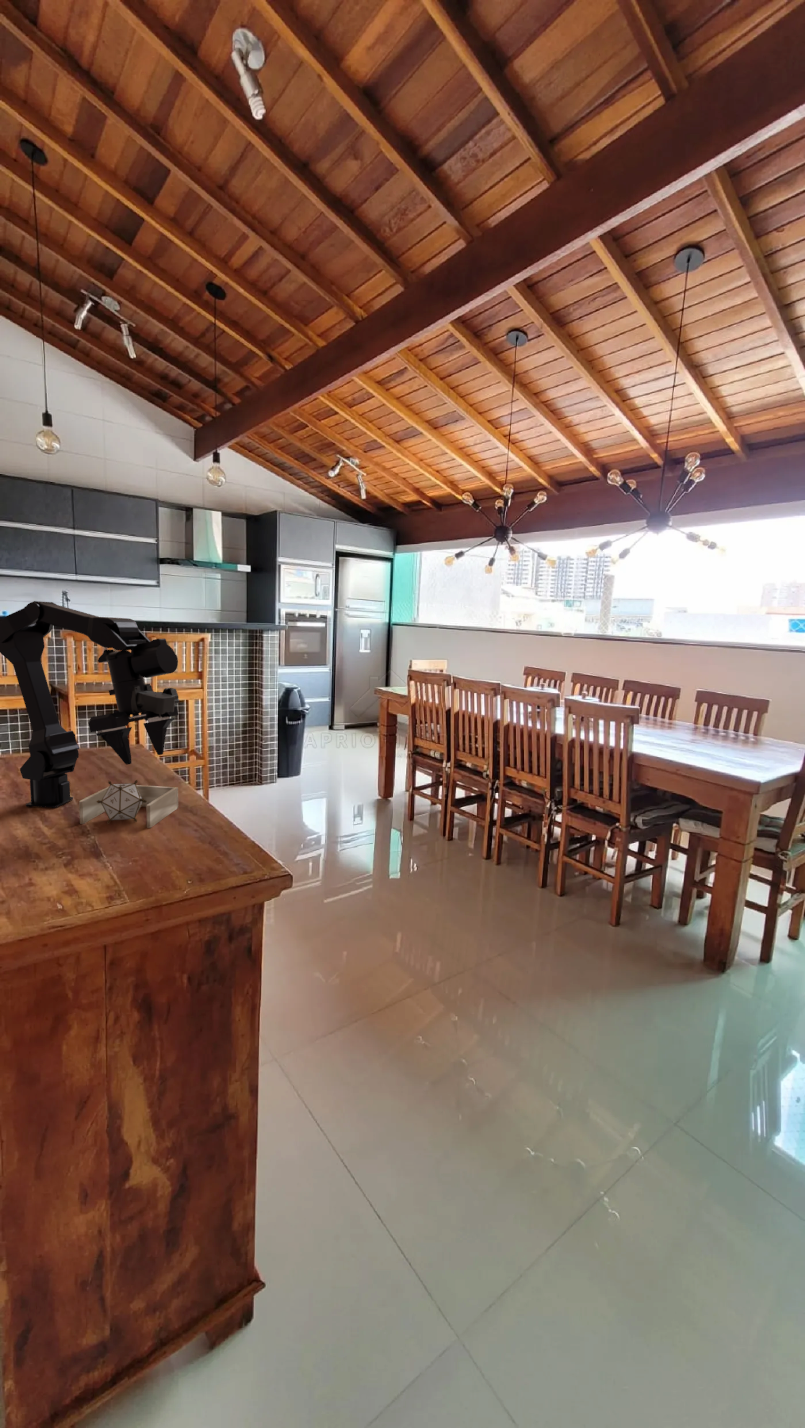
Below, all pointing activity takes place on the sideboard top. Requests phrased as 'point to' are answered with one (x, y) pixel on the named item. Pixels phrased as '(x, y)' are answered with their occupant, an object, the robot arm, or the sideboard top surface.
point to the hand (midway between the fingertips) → (145, 759)
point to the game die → (122, 801)
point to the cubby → (157, 805)
